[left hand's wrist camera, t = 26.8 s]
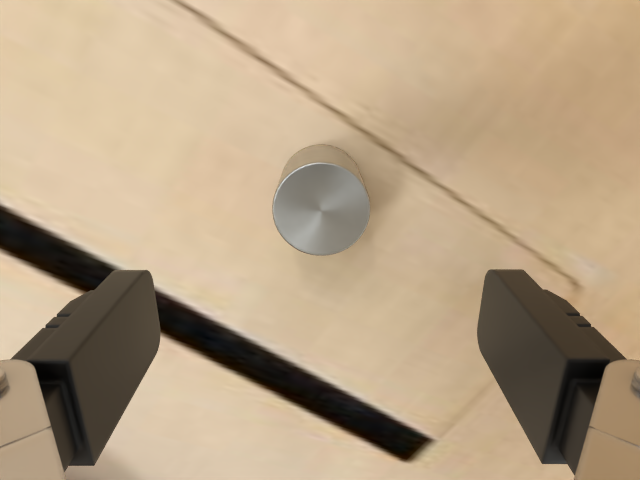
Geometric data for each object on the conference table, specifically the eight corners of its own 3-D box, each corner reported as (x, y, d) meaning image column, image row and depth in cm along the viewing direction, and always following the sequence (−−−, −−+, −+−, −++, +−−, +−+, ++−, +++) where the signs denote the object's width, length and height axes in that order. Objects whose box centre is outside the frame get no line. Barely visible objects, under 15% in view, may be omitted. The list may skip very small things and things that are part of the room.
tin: (373, 160, 22) (385, 181, 18) (344, 233, 24) (349, 268, 20) (295, 132, 22) (290, 147, 18) (270, 208, 23) (259, 238, 19)
